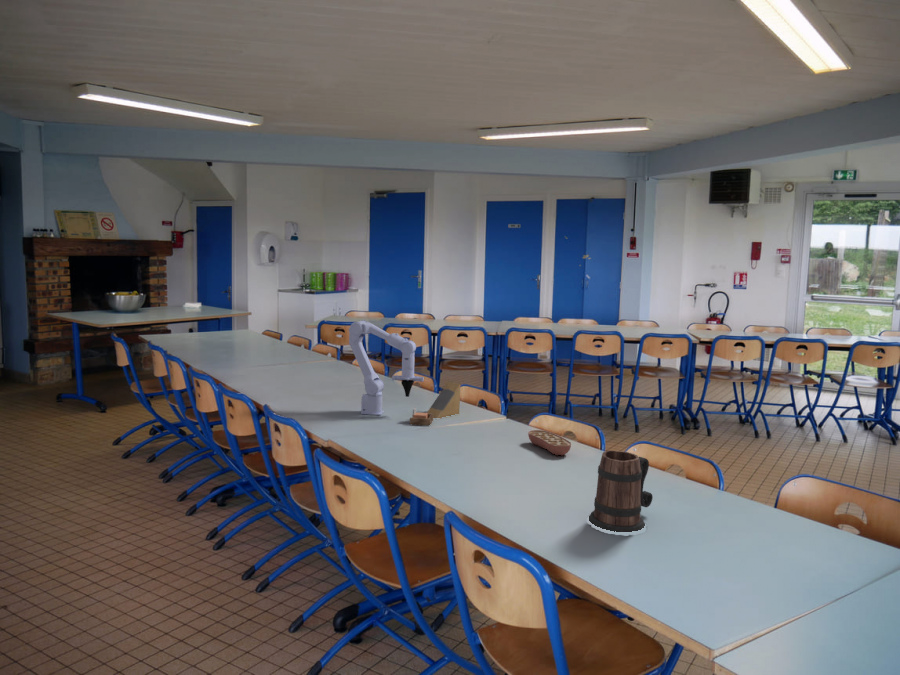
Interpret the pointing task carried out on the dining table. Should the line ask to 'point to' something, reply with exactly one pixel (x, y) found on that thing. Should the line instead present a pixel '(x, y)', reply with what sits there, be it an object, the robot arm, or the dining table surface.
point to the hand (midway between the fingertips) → (407, 396)
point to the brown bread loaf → (550, 441)
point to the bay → (422, 420)
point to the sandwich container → (446, 401)
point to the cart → (419, 414)
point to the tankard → (620, 492)
